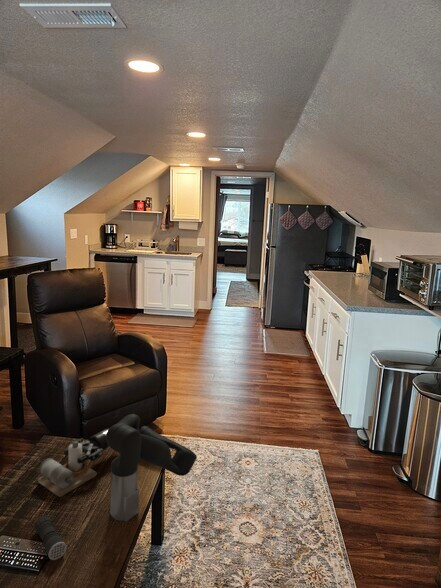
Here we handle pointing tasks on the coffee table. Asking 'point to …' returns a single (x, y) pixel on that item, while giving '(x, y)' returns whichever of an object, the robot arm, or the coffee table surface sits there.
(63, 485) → the motor mount
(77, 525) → the coffee table surface
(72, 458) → the white capped bottle
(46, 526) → the flashlight
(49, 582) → the coffee table surface
